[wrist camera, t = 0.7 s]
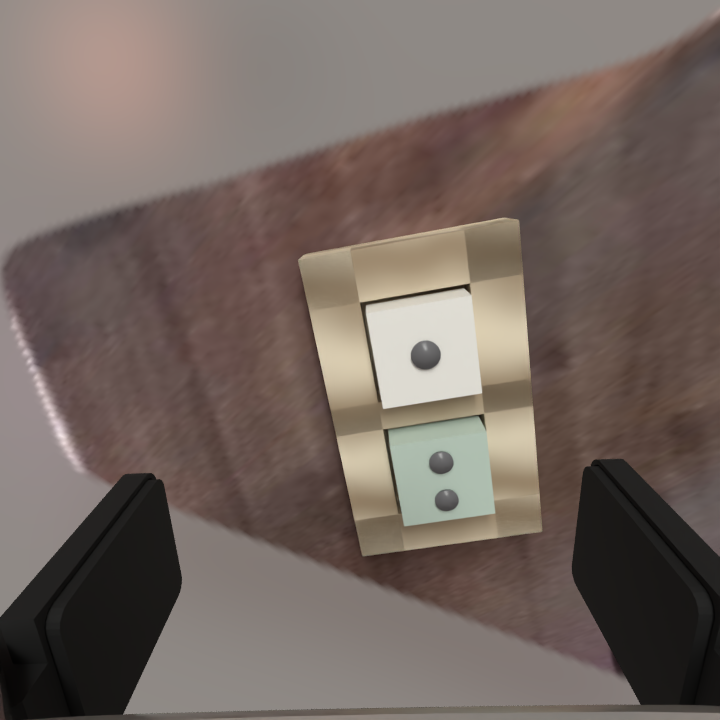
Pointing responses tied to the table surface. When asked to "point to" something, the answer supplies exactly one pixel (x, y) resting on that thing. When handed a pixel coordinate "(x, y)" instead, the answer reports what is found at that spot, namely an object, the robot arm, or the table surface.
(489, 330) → the tile board
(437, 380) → the one dot tile
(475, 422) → the two dot tile
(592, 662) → the table surface
